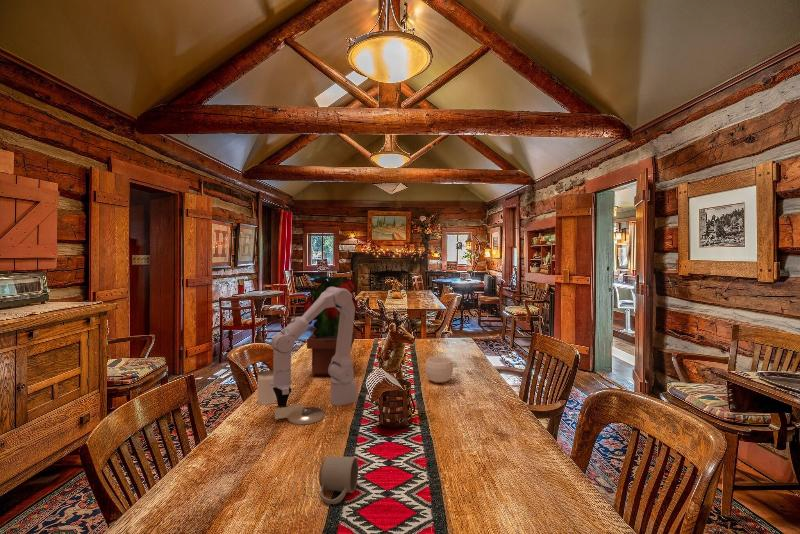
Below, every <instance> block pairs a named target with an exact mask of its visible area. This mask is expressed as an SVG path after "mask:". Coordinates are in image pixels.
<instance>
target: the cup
mask: <svg viewBox="0 0 800 534" xmlns="http://www.w3.org/2000/svg"><path fill="white" fill-rule="evenodd" d="M424 370H425V371H424V372H425V375H426V378H428V379H429V380H430V381H431V382H432V383H433V382H434V384H437V383H442V384H444V382H445V383H446V382H448V381H450V380H451V378H452V376H453V371H454V364H453V359H450V358H448V357H443V356H432V357H429V358H427V359H426V361H425V366H424Z"/></svg>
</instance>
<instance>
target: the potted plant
mask: <svg viewBox="0 0 800 534" xmlns="http://www.w3.org/2000/svg"><path fill="white" fill-rule="evenodd" d="M352 277H353V276H334V277H332V276H321V275H319V276H318V277H313V282H314V283H315V284H319V285H318V286H317V287H316V288H314V289H311V290H310V293H309V294H310V296H312V297H308V298H307V299H306V301H305V302H303V314H304V313H305V312H306V311H307V310H308V309H309V308H310V307H311V306H312V305H313V304H314V302H315V301H316V300H317V299H318V298H319V297H320V295H321V293H323V292H324V291H325V290H326V289H327V288H328V287H336V288H344V289H347V290H348V291H349V292H350V293H351V294H352V295H353V294H354V293H355V292H356V291H357V285H356V283H355V282H354V281H353V279H350V278H352ZM358 299H359V298H358V297H357V298H355V297H352V301H353V304H354V307H355V312H356V313H357V314H358V313H359V311H358V308H359V307H358V303H359V300H358ZM339 318H340V312H339V311H338V310H337V309H336V308H335V307H329V308H325V309H324V310H323V311H322V312H321V313H319V314H318V315H317V316H316V317H315V318H314V319H313V320H312V321H311V322H309V326H310V325H311V324H312V323H313V327H314V328H316V329H314V331H313V332H312V334H311V335H310V336H309V337H308V338H307V340H306V349H307V350H309V349H310V350H311V374H316V377H330V378H331V376H330V375H329V373H328V368H329V365H330V364H331V360H332V357H333V356H334V355H335V353H336V344H337V335H338V327H339ZM313 321H315V322H313ZM355 334H356V333H355V331H353V333H352V342H351V349H352V348H353V345H354V342H355Z"/></svg>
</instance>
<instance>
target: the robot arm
mask: <svg viewBox="0 0 800 534" xmlns="http://www.w3.org/2000/svg"><path fill="white" fill-rule="evenodd" d="M352 298H353V294H351V293H350V292H349V291H348V290H347V289H344V288H336V287H328V288H327V289H326V290H325V291H324V292H323V293H321V295H320V297H319V298H318V299H317V300H316V301H315V302H314V304H313V305H312V306H311V307H310V308H309V309H308V310H307V311H306V312H305V313H304V312H303V314H302V315H301V316H296V317H295V318H294V317H292V318H291V319H290V322H289V323H288V324H287V326H285V328H282V329H280V332H278V333H275V335H273V337H272V339H271V341H270V346H271V347H272V348H273V356H272V357H273V358H272V359H273V361H272V362H273V363H272V364H273V369H272V371H273V382H271V383H270V386H274V388H273V390H274V392H275V395H276V403H277V406H279V407H281V406H288V400H289V396H290V394H291V392H292V388H291V385H292V350H293V348H294V346H295V343H296V342H297V341H298V339H300V337H301V336H303V334H304V333H305V332H306V331H307V330H308V329H309V326H310V325H309V322H311V321H312V320H313V319H314V318H315V317H316V316H317V315H318V314H319V313H321V312H322V311H323V310H324V309H325V308H329V307H335V308H336V309H337V310H338V311H339V312H340V318H339V327H338V335H337V344H336V353H335V355H334V356H333V357H332V360H331V364H330V365H329V368H328V373H329V375H330V376H331V377H330V376H329V377H330V404H331V405H334V406H345V405H349V404H355V403H358V385H357V383H358V382H357V381H356V380H355V379H354V377H355V371H354V363H353V360H352V358H351V351H352V348H351V342H352V333H353V332H354V325H355V324H354V323H355V322H354V321H355V315H356V311H355V307H354V304H353V301H352ZM313 321H314V320H313ZM313 321H312V322H313Z"/></svg>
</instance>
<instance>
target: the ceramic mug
mask: <svg viewBox="0 0 800 534" xmlns="http://www.w3.org/2000/svg"><path fill="white" fill-rule="evenodd" d="M318 474H319V475H318V482H319V486H320V496H321V497H320V498H321V499H322V501H323V502H324V503H325V504H327V503H328V504H327V505H331V504H333V505H336V504H339V503H340V502H342V500H343V499H344V498H345V496H346V495H347V494H353V493H354V492H355V490H356V487H357V486H358V485H357V484H358V479H359V460H358V458H357V457H356V456H327V457H325V458H324V459H323V460H322V461H321V464H320V467H319V473H318ZM325 490H326V491H334V492H340V494H339V495H338V496H337V497H334V498H333V499H329V498H328V497H325V495H324V491H325Z"/></svg>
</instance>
